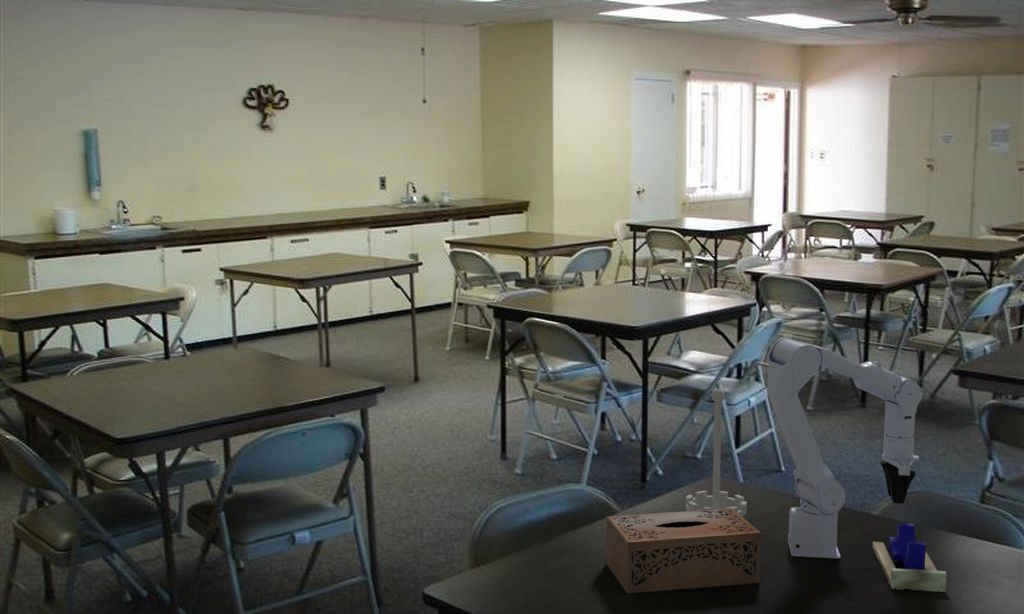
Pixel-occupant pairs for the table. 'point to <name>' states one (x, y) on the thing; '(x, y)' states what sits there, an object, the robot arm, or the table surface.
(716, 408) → the flag stand
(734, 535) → the tissue box cover
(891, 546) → the blue stepped block
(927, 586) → the channel
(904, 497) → the robot arm
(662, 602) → the table surface
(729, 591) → the table surface
